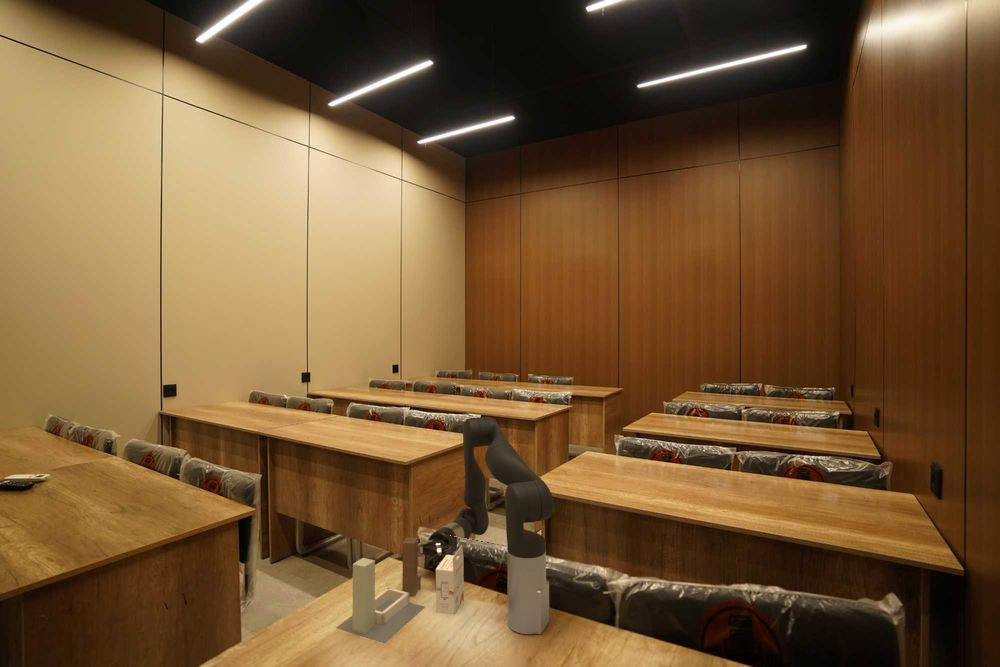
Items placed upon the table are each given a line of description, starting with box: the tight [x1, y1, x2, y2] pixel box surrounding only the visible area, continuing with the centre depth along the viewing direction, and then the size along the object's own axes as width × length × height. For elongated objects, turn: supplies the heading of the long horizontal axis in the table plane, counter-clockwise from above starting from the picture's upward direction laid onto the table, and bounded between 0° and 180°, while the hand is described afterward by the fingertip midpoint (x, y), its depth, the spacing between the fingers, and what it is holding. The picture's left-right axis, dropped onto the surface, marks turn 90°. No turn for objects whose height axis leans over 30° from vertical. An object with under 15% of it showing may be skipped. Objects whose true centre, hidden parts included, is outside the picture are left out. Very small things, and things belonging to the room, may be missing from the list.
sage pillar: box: [352, 557, 376, 634], centre depth 110 cm, size 4×4×15 cm
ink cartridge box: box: [435, 544, 465, 615], centre depth 120 cm, size 9×5×15 cm, turn 168°
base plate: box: [335, 587, 426, 644], centre depth 114 cm, size 14×16×4 cm
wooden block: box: [401, 537, 422, 598], centre depth 127 cm, size 7×3×15 cm, turn 175°
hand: (416, 561), depth 129 cm, fingers open, 8 cm apart
